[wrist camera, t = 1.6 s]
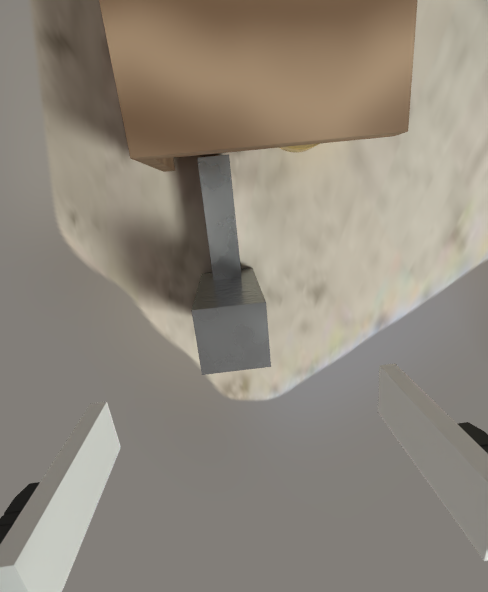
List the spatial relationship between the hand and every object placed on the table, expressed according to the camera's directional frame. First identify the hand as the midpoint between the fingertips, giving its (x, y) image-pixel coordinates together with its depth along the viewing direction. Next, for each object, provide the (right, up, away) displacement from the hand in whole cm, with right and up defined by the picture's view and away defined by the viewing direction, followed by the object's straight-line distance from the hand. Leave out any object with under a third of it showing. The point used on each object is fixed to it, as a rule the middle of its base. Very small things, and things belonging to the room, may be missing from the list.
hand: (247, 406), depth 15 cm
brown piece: (0, +24, +10) cm, 26 cm away
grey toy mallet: (-2, +10, +14) cm, 18 cm away
